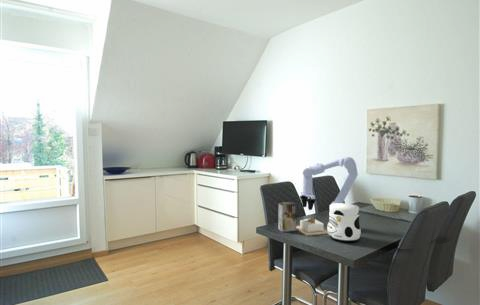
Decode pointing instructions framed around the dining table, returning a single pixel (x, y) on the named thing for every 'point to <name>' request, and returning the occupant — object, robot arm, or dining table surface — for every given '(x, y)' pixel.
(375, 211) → the dining table surface
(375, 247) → the dining table surface
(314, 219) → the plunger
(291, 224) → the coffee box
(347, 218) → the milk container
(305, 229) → the butter dish
